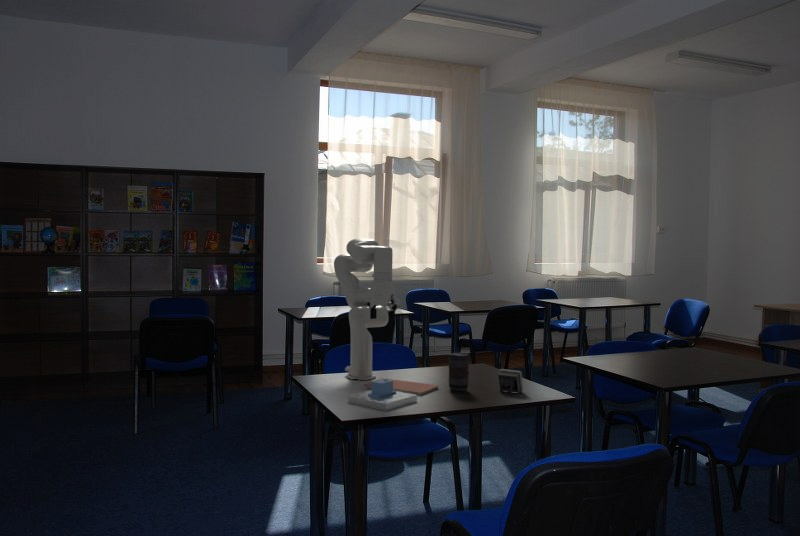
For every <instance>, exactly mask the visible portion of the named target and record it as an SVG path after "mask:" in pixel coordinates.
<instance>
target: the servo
mask: <svg viewBox="0 0 800 536" xmlns="http://www.w3.org/2000/svg"><path fill="white" fill-rule="evenodd" d="M382 378H383V379H382ZM382 378H381V379H382V380H379V379H377V380H378V381H376V380H373V382H372V381H371V382H372V389H371V390H372V393H370V394H368V396H369V397H374V398H384V397H388V396H392V395H393V394H394V393H396V391H394V390H393V381H392V380H388V379H389V378H388V377H382Z"/></svg>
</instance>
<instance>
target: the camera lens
mask: <svg viewBox="0 0 800 536" xmlns="http://www.w3.org/2000/svg"><path fill="white" fill-rule="evenodd" d="M469 360H470V358H469V354H468V353H464V352H453V353H449V354H448V387H449V391H450V392H451V393H454V394H455V393H456V394H464V393H467V391H468V387H469V375H470V371H469V368H470V367H469V366H470V365H469V364H470V361H469Z"/></svg>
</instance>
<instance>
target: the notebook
mask: <svg viewBox="0 0 800 536" xmlns="http://www.w3.org/2000/svg"><path fill="white" fill-rule="evenodd" d="M383 378H384V377H382V378H379V379H376V380H375V381H378V380H382V379H383ZM388 380H392V381H393V390H394V391H398V392H404V393H409V394H414V395H417V397H418V396H419V397H421V396H424V395H426V394H428V393H430V392H433V391H436V390H438V389H439V387H440V385H437V384H430V383H423V382H417V381H415V382H414V381H408V380H401V379H391V378H388ZM373 381H374V380H373ZM373 381H370V382H366V383H364V384H362V386H363V388H364V387H366V388H367V389H368V388H369V389H368V390H372V382H373ZM366 388H365V389H366ZM370 388H371V389H370Z"/></svg>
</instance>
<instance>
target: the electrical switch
mask: <svg viewBox="0 0 800 536" xmlns="http://www.w3.org/2000/svg"><path fill="white" fill-rule="evenodd" d="M498 385H499V392H501V391H509V392H512V391H513V392H517V393H519V394H521V393H520V392H522V393H523V392H524V384H523V373H522V371H521V370H514V369H513V370H512V369H503V368H500V369H498Z"/></svg>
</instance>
